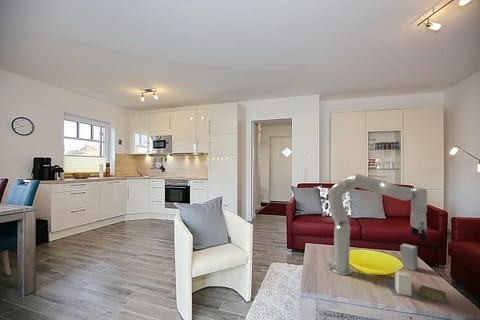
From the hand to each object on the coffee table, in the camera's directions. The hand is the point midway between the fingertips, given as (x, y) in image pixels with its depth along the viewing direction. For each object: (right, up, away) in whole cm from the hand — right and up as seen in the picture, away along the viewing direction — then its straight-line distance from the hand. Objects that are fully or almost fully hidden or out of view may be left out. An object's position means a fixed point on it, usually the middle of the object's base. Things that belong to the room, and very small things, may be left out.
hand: (418, 237), depth 139 cm
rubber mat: (-13, -29, -3) cm, 32 cm away
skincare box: (+12, -30, +25) cm, 41 cm away
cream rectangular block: (-15, -29, -8) cm, 33 cm away
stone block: (-2, -29, -12) cm, 32 cm away
